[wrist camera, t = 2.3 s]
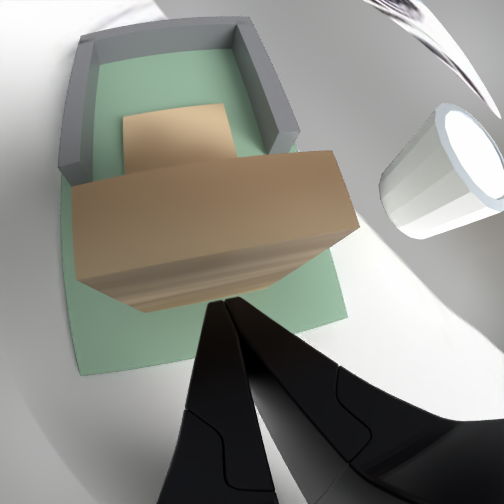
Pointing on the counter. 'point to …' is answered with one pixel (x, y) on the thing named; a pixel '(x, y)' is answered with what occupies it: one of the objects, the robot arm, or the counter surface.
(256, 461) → the robot arm
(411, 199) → the white cup
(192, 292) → the bookend
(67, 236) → the mat
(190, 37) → the pocket
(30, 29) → the counter surface
